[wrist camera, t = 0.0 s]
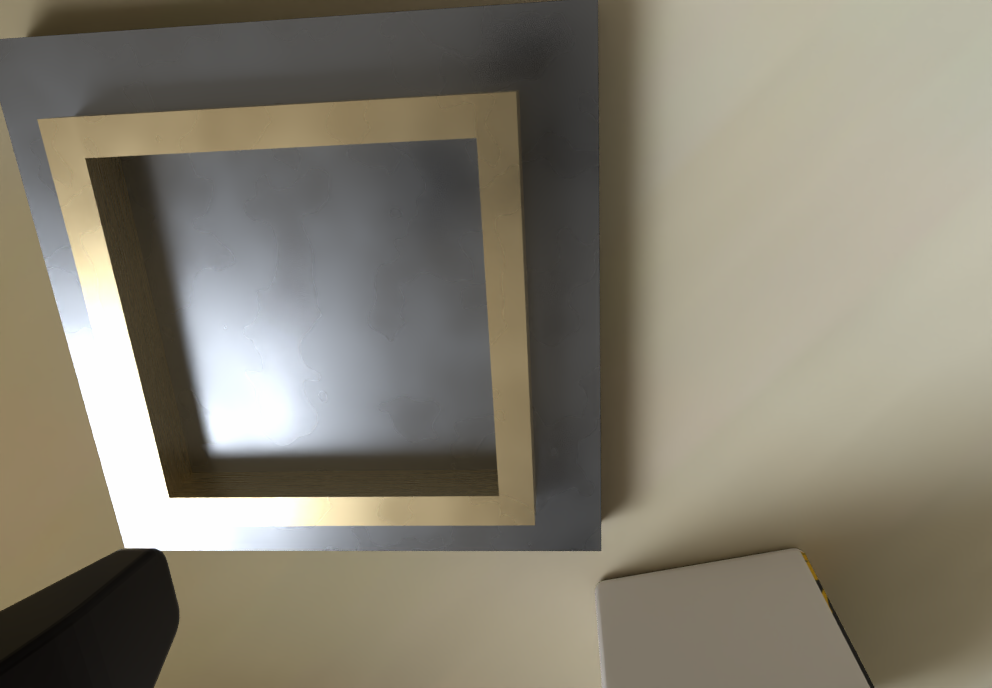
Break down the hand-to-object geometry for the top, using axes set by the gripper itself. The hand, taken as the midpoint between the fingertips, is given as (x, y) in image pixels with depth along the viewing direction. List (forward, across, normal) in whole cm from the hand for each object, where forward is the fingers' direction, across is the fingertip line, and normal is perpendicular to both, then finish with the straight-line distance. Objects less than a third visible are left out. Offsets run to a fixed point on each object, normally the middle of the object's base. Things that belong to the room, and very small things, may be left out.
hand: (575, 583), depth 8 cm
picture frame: (+15, +7, +1) cm, 16 cm away
